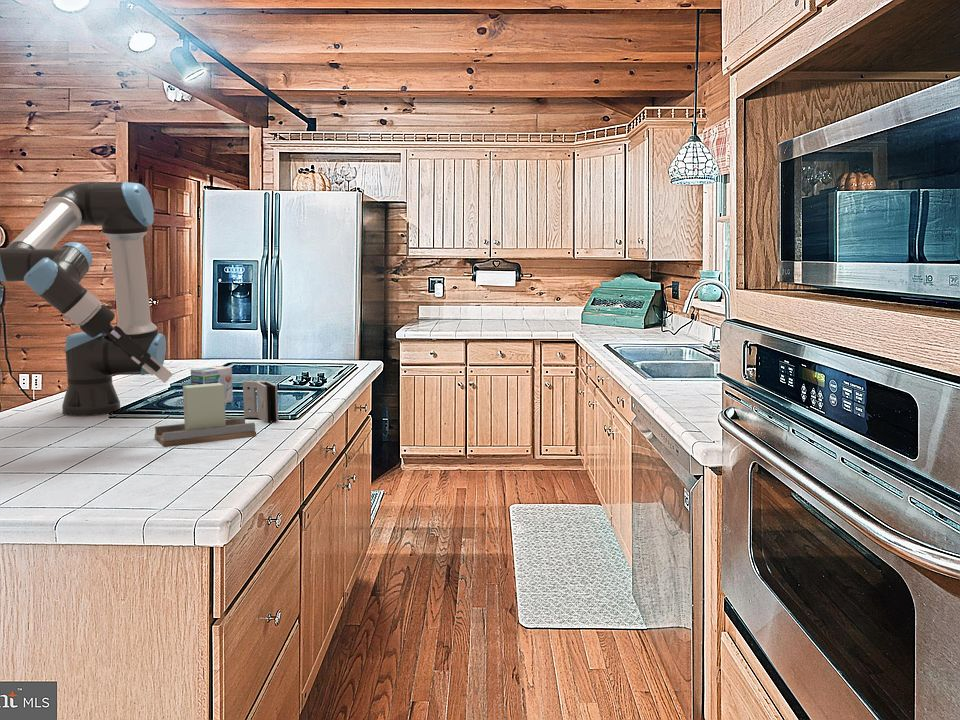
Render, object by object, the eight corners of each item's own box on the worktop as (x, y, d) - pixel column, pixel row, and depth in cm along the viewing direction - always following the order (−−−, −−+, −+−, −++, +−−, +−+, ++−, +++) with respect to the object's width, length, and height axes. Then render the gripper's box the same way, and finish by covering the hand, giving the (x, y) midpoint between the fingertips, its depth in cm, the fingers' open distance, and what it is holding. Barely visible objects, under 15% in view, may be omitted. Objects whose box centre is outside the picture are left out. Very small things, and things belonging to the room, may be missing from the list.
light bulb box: (205, 407, 249) (204, 371, 247) (190, 404, 252) (189, 369, 251) (234, 401, 258) (232, 366, 256) (219, 399, 261) (218, 365, 260)
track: (154, 437, 208) (154, 426, 207) (243, 427, 220) (242, 416, 219) (164, 446, 199) (164, 434, 198) (256, 435, 210) (255, 424, 210)
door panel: (184, 433, 208) (182, 385, 207) (221, 429, 213) (219, 382, 212) (188, 436, 205) (186, 388, 203) (225, 432, 210) (224, 384, 208)
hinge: (243, 416, 235) (242, 380, 234) (260, 413, 239) (259, 378, 238) (268, 423, 225) (267, 386, 224) (285, 421, 229) (284, 384, 228)
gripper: (70, 322, 201) (140, 379, 211) (86, 332, 180) (162, 394, 190) (93, 300, 203) (161, 357, 213) (111, 306, 182) (185, 369, 192)
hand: (162, 374), depth 202 cm, fingers open, 13 cm apart
